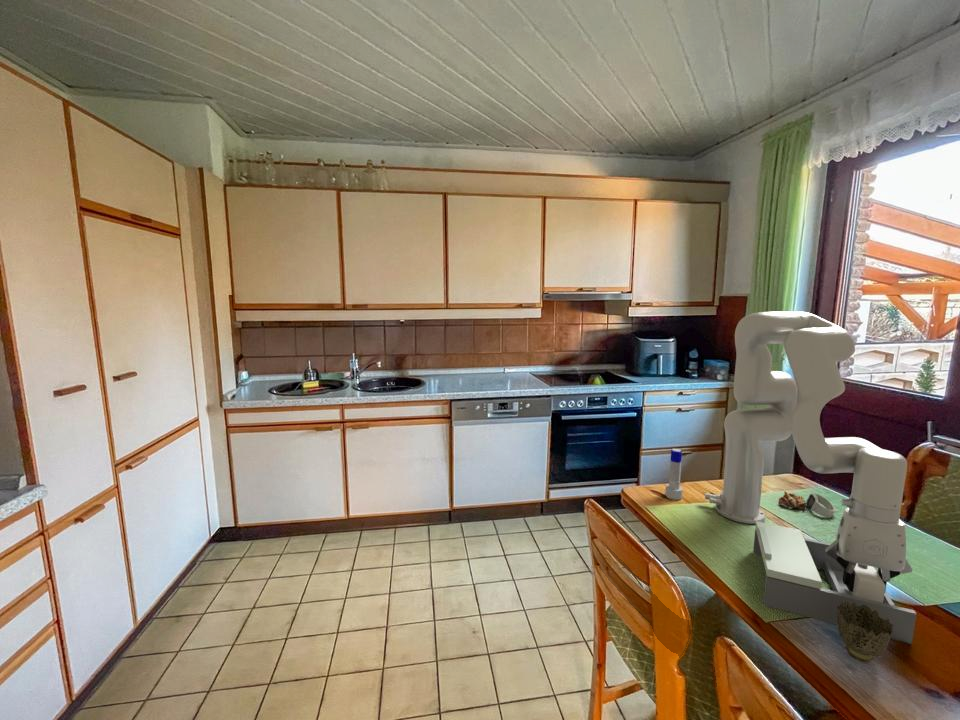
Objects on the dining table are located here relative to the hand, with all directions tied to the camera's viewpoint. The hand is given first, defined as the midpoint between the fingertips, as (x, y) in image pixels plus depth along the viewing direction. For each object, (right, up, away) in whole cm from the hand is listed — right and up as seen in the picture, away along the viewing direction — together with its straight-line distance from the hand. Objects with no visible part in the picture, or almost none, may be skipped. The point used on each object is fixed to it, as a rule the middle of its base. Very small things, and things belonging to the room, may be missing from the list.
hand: (862, 590), depth 90 cm
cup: (-13, -5, -13) cm, 19 cm away
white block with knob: (0, -1, 0) cm, 1 cm away
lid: (-12, +5, +6) cm, 15 cm away
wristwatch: (+21, +3, +38) cm, 44 cm away
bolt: (-19, +4, +47) cm, 51 cm away
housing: (-6, -2, +4) cm, 7 cm away
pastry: (+16, +4, +43) cm, 46 cm away
